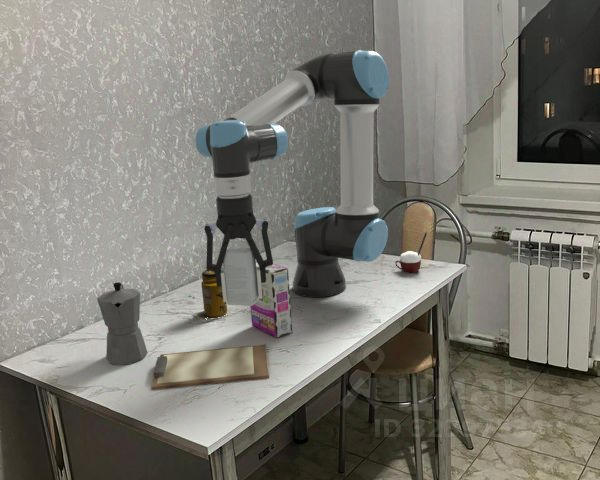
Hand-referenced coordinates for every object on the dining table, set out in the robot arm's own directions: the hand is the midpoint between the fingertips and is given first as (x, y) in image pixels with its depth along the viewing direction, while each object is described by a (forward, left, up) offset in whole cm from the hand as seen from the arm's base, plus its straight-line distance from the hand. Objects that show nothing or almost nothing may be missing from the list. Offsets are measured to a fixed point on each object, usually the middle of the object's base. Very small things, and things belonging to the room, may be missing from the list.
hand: (242, 298), depth 144 cm
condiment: (+9, -28, -14) cm, 33 cm away
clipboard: (+8, +4, -14) cm, 16 cm away
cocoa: (-50, -49, -14) cm, 71 cm away
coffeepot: (+28, -7, -14) cm, 32 cm away
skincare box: (0, 0, -1) cm, 1 cm away
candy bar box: (-6, -14, -14) cm, 21 cm away
